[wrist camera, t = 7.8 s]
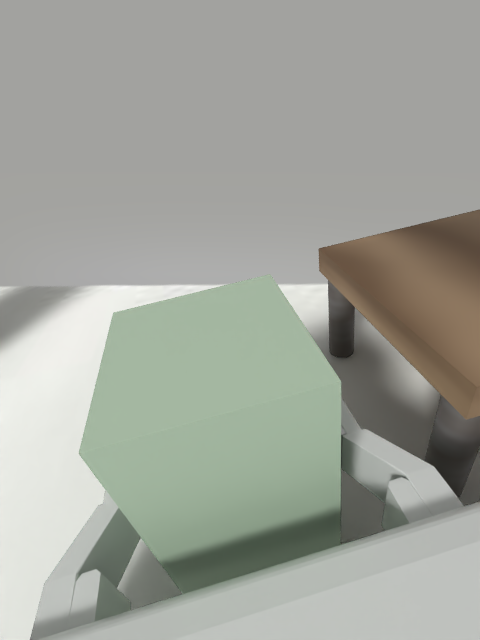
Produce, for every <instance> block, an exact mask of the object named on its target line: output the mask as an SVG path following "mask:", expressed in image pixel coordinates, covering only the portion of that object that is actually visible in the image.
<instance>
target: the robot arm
mask: <svg viewBox="0 0 480 640" xmlns="http://www.w3.org/2000/svg"><path fill="white" fill-rule="evenodd" d="M341 468H342V470H344V471H345V472H346V473H347V474H349V475H350V476H351V477H352V478H354V479H355V480H356V481H357V482H359V483H360V484H361V485H362V486H364V487H365V488H366V489H368V490H369V491H370V492H371V493H373V494H374V495H375V496H376V497H378V498H379V499H380V500H381V501H383V502H384V503H385V507H384V513H383V520H382V526H383V528H384V530H385V531H383V532H380V533H377V534H374V535H370V536H367V537H364V538H361V539H358V540H354V541H351V542H348V543H345V544H341V545H338V546H335V547H332V548H329V549H325V550H322V551H319V552H316V553H313V554H309V555H306V556H303V557H300V558H297V559H293V560H290V561H287V562H284V563H281V564H277V565H274V566H271V567H268V568H265V569H261V570H258V571H255V572H252V573H249V574H245V575H242V576H239V577H236V578H232V579H229V580H226V581H223V582H220V583H216V584H213V585H210V586H207V587H204V588H200V589H197V590H194V591H191V592H188V593H184V594H181V595H178V596H175V597H172V598H168V599H165V600H162V601H159V602H156V603H152V604H149V605H146V606H143V607H140V608H136V609H133V610H131V602H130V601H129V600H128V599H127V598H126V597H125V596H124V595H123V594H122V593H121V592H120V591H119V590H118V589H117V587H118V585H119V582H120V580H121V578H122V576H123V574H124V572H125V570H126V567H127V565H128V563H129V561H130V559H131V557H132V555H133V553H134V550H135V548H136V546H137V544H138V542H139V540H140V538H141V537H140V535H139V534H138V533H137V531H136V530H135V529H134V527H133V526H132V525H131V523H130V522H129V521H128V519H127V518H126V517H125V515H124V514H123V513H122V511H121V510H120V509H119V507H118V506H117V504H116V503H115V502H114V500H113V499H112V498H111V496H110V495H109V494H108V492H107V491H106V490H105V494H104V500H103V504H101V505H98V507H97V508H96V510H95V511H94V512H93V514H92V515H91V517H90V518H89V520H88V521H87V523H86V524H85V525H84V527H83V528H82V530H81V531H80V533H79V534H78V535H77V537H76V538H75V540H74V541H73V543H72V544H71V546H70V547H69V548H68V550H67V551H66V553H65V554H64V556H63V557H62V558H61V560H60V561H59V563H58V564H57V566H56V567H55V569H54V570H53V571H52V573H51V574H50V576H49V577H48V579H47V580H46V582H45V583H44V587H43V591H42V594H41V598H40V602H39V606H38V610H37V614H36V618H35V622H34V626H33V630H32V634H31V638H30V640H480V501H479V502H476V503H473V504H470V505H466V506H464V505H463V504H462V502H461V501H460V500H459V498H458V497H457V496H456V495H455V493H454V492H453V491H452V489H451V488H450V487H449V485H448V484H447V483H446V481H445V480H444V479H443V478H442V476H441V475H440V474H439V472H438V471H437V470H436V468H435V467H434V466H432V465H430V464H429V463H427V462H425V461H423V460H421V459H420V458H418V457H416V456H414V455H412V454H411V453H409V452H407V451H405V450H403V449H402V448H400V447H398V446H396V445H394V444H393V443H391V442H389V441H387V440H385V439H384V438H382V437H380V436H378V435H376V434H375V433H373V432H371V431H369V430H367V429H361V427H360V426H359V424H358V423H357V421H356V420H355V418H354V416H353V415H352V413H351V412H350V410H349V409H348V407H347V405H346V404H345V402H344V401H343V399H342V398H341Z"/></svg>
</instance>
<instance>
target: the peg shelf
mask: <svg viewBox="0 0 480 640" xmlns="http://www.w3.org/2000/svg"><path fill="white" fill-rule="evenodd" d="M319 271H320V272H321V273H322V274H323V275H324V276H325V277H326V278H327V279H328V299H329V349H330V353H331V354H332V355H334V356H336V357H341V358H343V357H348V356H350V355H351V354H352V353H353V345H354V314H355V308H356V309H357V310H358V311H359V312H360V313H361V314H362V315H363V316H364V317H365V318H366V319H367V320H368V321H369V322H370V323H371V324H372V325H373V326H374V327H375V328H376V329H377V330H378V331H379V332H380V333H381V334H382V335H383V336H384V337H385V338H386V339H387V340H388V341H389V342H390V343H391V344H392V345H393V346H394V347H395V348H396V349H397V350H398V351H399V352H400V353H401V354H402V355H403V356H404V357H405V358H406V359H407V360H408V361H409V362H410V363H411V364H412V365H413V366H414V367H415V368H416V370H417V371H418V372H419V373H420V374H421V375H422V376H423V377H424V378H425V379H426V380H427V381H428V382H429V383H430V384H431V385H432V386H433V387H434V388H435V389H436V390H437V391H438V392H439V393H440V394H441V398H440V402H439V405H438V409H437V413H436V417H435V421H434V425H433V429H432V433H431V437H430V441H429V445H428V449H427V453H426V457H425V462H427V463H429V464H430V465H432V466H434V467H435V468H436V470H437V471H438V472H439V474H440V475H441V476H442V478H443V479H444V480H445V481H446V483H447V484H448V485H449V487H450V488H451V489H452V491H453V492H454V493H455V495H456V496H457V497H459V496H460V495H461V493H462V490H463V488H464V485H465V483H466V480H467V478H468V475H469V473H470V470H471V467H472V465H473V462H474V460H475V457H476V455H477V452H478V450H479V447H480V210H476V211H472V212H467V213H463V214H459V215H455V216H451V217H447V218H443V219H439V220H434V221H430V222H426V223H422V224H418V225H414V226H410V227H406V228H402V229H397V230H393V231H389V232H385V233H381V234H377V235H373V236H368V237H365V238H360V239H356V240H352V241H348V242H344V243H340V244H336V245H331V246H328V247H323V248H319Z"/></svg>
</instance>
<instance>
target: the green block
mask: <svg viewBox="0 0 480 640" xmlns="http://www.w3.org/2000/svg"><path fill="white" fill-rule="evenodd" d="M79 455H80V456H81V457H82V459H83V460H84V461H85V463H86V464H87V465H88V467H89V468H90V470H91V471H92V472H93V474H94V475H95V476H96V478H97V479H98V480H99V482H100V483H101V484H102V486H103V487H104V488H105V490H106V491H107V492H108V494H109V495H110V496H111V498H112V499H113V500H114V502H115V503H116V504H117V506H118V507H119V509H120V510H121V511H122V513H123V514H124V515H125V517H126V518H127V519H128V521H129V522H130V523H131V525H132V526H133V527H134V529H135V530H136V531H137V533H138V534H139V535H140V537H141V538H142V539H143V541H144V542H145V544H146V545H147V546H148V548H149V549H150V550H151V552H152V553H153V554H154V556H155V557H156V558H157V560H158V561H159V562H160V564H161V565H162V566H163V568H164V569H165V570H166V572H167V573H168V574H169V576H170V577H171V578H172V580H173V581H174V583H175V584H176V585H177V587H178V588H179V589H180V591H181V592H182V593H183V594H184V593H188V592H191V591H194V590H197V589H200V588H204V587H207V586H210V585H213V584H216V583H220V582H223V581H226V580H229V579H232V578H236V577H239V576H242V575H245V574H249V573H252V572H255V571H258V570H261V569H265V568H268V567H271V566H274V565H277V564H281V563H284V562H287V561H290V560H293V559H297V558H300V557H303V556H306V555H309V554H313V553H316V552H319V551H322V550H325V549H329V548H332V547H335V546H338V545H340V534H341V380H340V379H339V377H338V376H337V374H336V373H335V371H334V370H333V368H332V367H331V365H330V364H329V362H328V361H327V359H326V358H325V356H324V355H323V353H322V352H321V350H320V349H319V347H318V346H317V344H316V342H315V341H314V339H313V338H312V336H311V335H310V333H309V332H308V330H307V329H306V327H305V326H304V324H303V323H302V321H301V320H300V318H299V317H298V315H297V314H296V312H295V311H294V309H293V308H292V306H291V305H290V303H289V302H288V300H287V299H286V297H285V296H284V294H283V293H282V291H281V290H280V288H279V287H278V285H277V284H276V282H275V281H274V279H273V278H272V276H271V275H270V274H269V275H265V276H261V277H257V278H253V279H249V280H245V281H241V282H237V283H233V284H228V285H224V286H220V287H216V288H212V289H208V290H204V291H200V292H196V293H192V294H188V295H184V296H180V297H176V298H172V299H168V300H164V301H159V302H155V303H151V304H147V305H143V306H139V307H135V308H131V309H127V310H123V311H119V312H115V313H113V316H112V320H111V324H110V328H109V332H108V336H107V340H106V344H105V349H104V353H103V357H102V361H101V365H100V369H99V373H98V377H97V381H96V385H95V389H94V393H93V397H92V401H91V406H90V410H89V414H88V418H87V422H86V426H85V430H84V434H83V438H82V442H81V446H80V450H79Z"/></svg>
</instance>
